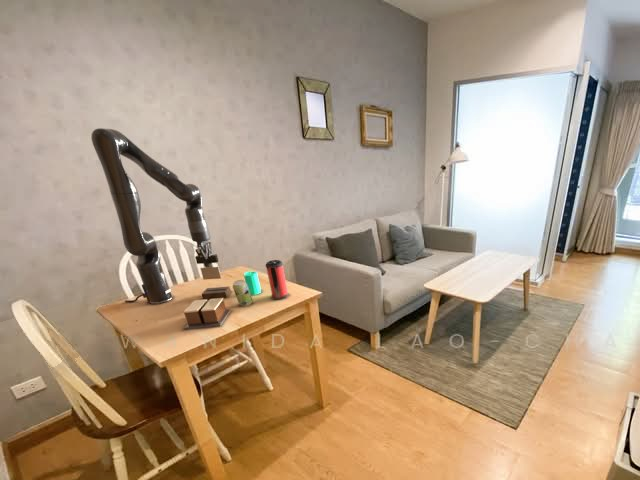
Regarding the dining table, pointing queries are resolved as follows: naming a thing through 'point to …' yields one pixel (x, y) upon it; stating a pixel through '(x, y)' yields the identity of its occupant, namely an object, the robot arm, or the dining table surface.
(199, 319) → the split wooden block
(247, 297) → the beverage can
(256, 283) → the candle
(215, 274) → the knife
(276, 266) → the speaker
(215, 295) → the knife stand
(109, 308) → the dining table surface
